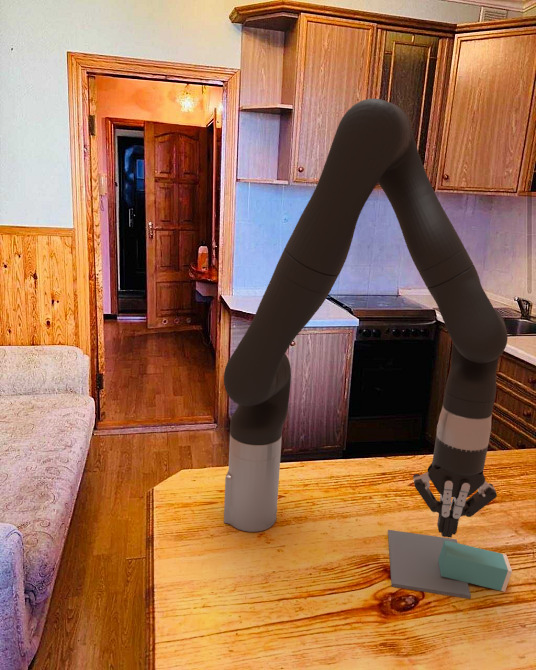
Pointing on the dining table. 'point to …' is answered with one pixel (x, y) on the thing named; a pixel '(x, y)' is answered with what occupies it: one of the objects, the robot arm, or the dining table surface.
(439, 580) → the mat
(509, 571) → the block
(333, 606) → the dining table surface
